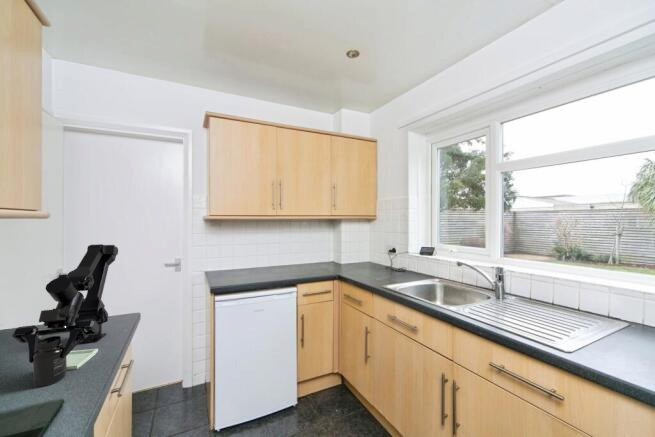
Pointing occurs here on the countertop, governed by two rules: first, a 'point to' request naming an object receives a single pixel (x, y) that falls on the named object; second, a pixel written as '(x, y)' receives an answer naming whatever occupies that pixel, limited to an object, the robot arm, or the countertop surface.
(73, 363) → the sage tray
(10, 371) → the countertop surface
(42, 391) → the countertop surface
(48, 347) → the supplement bottle
